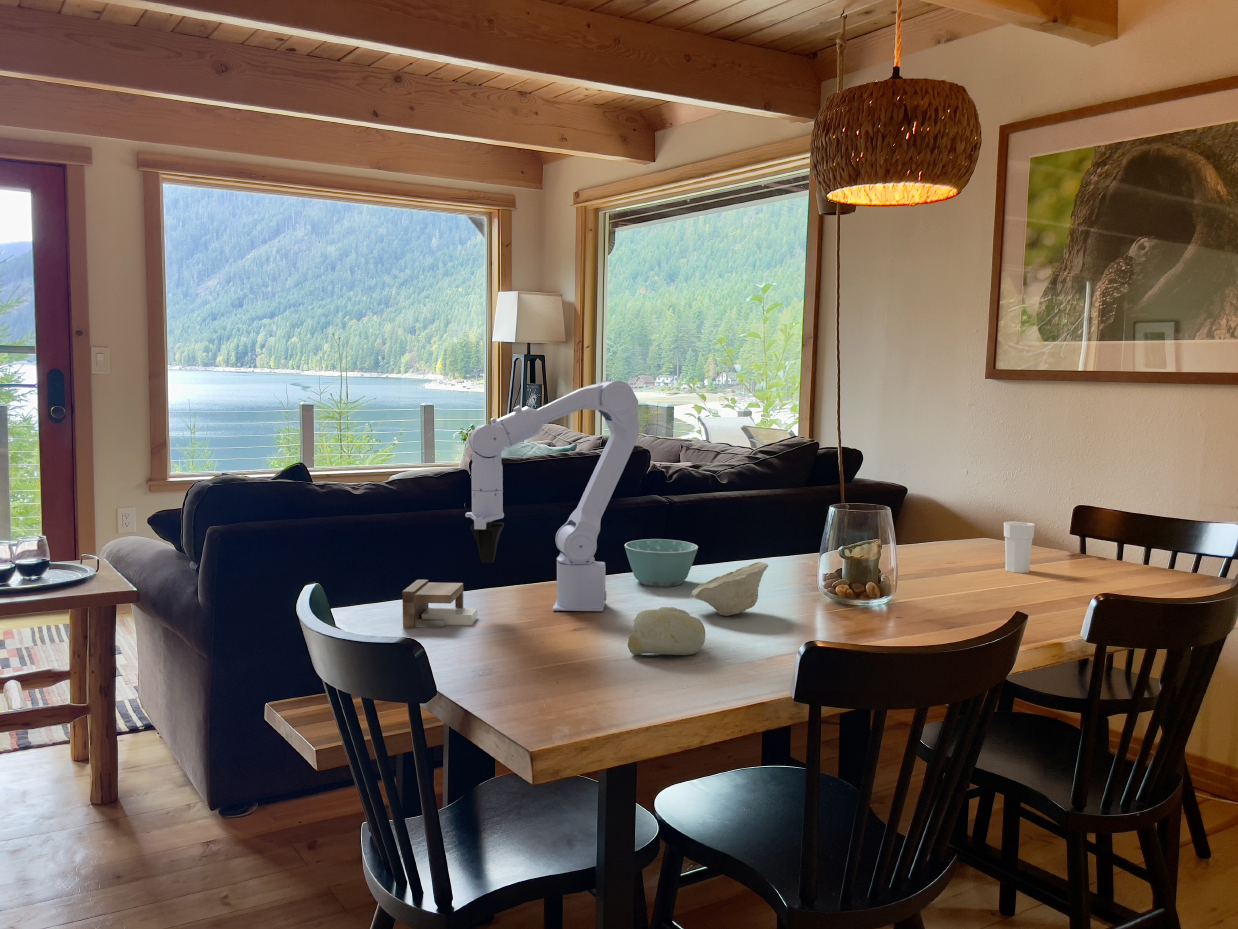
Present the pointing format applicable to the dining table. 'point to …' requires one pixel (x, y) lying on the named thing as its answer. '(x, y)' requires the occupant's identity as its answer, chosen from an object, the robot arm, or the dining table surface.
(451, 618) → the tile
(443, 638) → the dining table surface
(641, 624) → the smooth beige rock
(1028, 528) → the cup
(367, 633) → the dining table surface
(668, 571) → the bowl
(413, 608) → the shelf
